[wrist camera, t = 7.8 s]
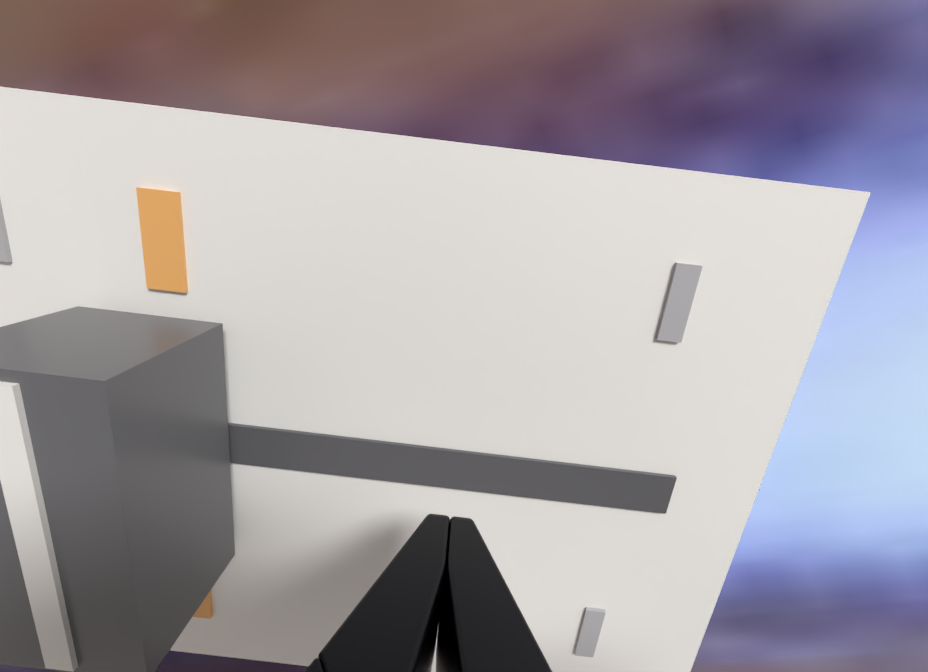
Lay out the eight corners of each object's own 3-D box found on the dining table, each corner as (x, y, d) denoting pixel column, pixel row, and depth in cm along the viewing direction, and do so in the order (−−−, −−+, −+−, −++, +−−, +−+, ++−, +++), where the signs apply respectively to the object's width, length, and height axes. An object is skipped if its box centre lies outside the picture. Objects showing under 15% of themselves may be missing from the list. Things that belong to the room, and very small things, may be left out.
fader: (222, 323, 9) (99, 384, 6) (235, 554, 11) (144, 687, 8) (78, 305, 9) (-117, 359, 6) (114, 540, 11) (-23, 668, 8)
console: (781, 193, 11) (875, 192, 8) (644, 626, 15) (677, 712, 12) (-44, 93, 10) (-206, 61, 8) (53, 558, 15) (-33, 631, 12)
